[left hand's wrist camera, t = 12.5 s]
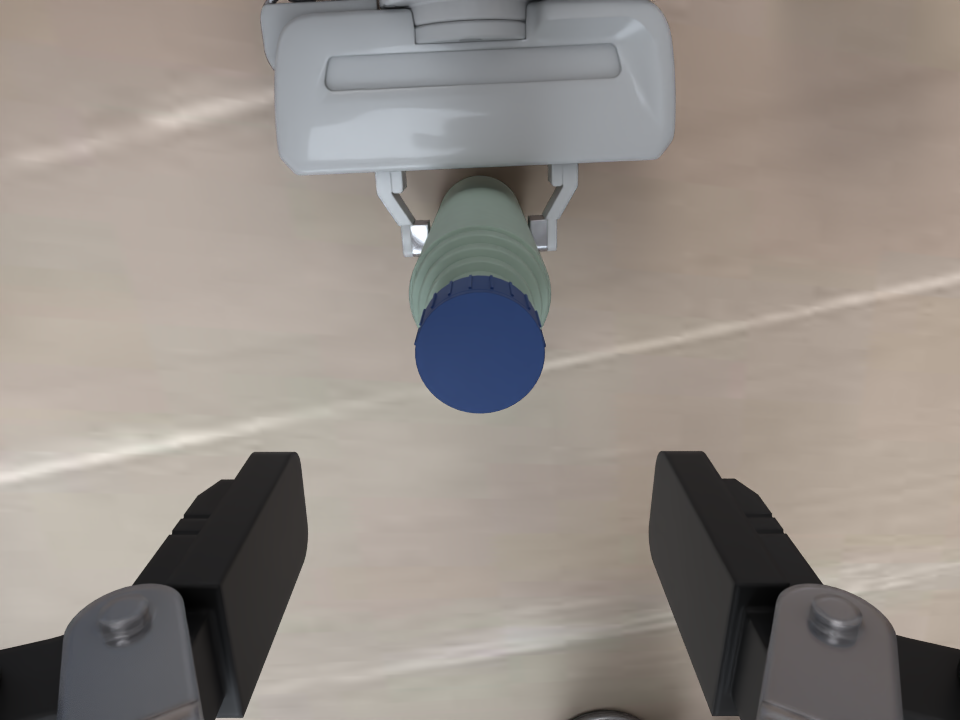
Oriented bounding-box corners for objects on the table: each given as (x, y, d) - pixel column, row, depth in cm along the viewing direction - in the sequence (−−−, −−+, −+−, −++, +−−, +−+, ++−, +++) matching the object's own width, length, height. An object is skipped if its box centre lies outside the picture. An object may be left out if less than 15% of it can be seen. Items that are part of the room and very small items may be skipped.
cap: (462, 409, 21) (459, 437, 20) (395, 314, 20) (386, 335, 18) (562, 350, 21) (570, 374, 19) (499, 249, 20) (501, 264, 18)
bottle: (467, 273, 44) (453, 461, 20) (422, 204, 42) (352, 323, 19) (536, 230, 43) (604, 376, 19) (493, 158, 41) (510, 222, 18)
